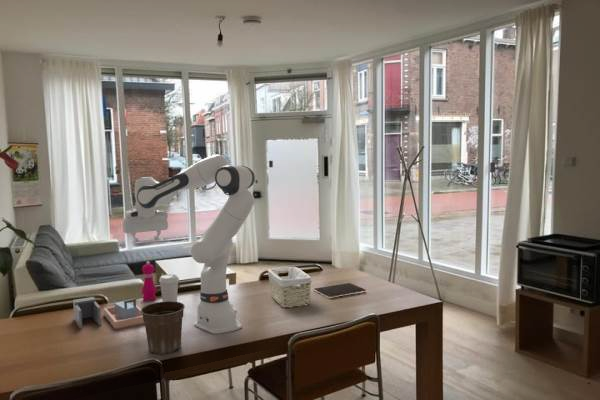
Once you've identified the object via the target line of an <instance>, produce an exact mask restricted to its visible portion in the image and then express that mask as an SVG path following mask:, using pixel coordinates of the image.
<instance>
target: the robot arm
mask: <svg viewBox="0 0 600 400" xmlns="http://www.w3.org/2000/svg"><path fill="white" fill-rule="evenodd" d="M255 180H256V177H255V173H254V171H253V170H252V169H251V168H249V167H248V166H245V165H238V164H230V163H229V161H228V160H227V158H226V157H225V156H224V155H222V154H214V155H211V156H207V157H205V158H203V159H201V160H199V161H196V162H195V163H193V164H192V165H190V166H188V167H187V168H185V169H183V170H181V171H180V172H178V173H177V174H175V175H173V176H170V177H169V178H166V179H165V180H163V181H160V182H159V181H157V180H156V179H155V178H154V177H152V176H145V177H139V178H136V180H135V183H134V199H135V204H134V207H133V208H131V209H130V210H127V211H125V212H124V216H125V217H124V219H123V222H122V231H123V232H124V233H125V234H130V235H131V236H132V238H133V241H134V242H133V243H139V237H138V238H137V237H136V234H137V233H147V232H156V235H154V238H153V239H154V241H159V239H160V235H161V233H162V231H167V230H168V229H169V223H168V222H169V221H168V214H169V213H168V212H167V211H165V210H164V209H163V210H156V207H160V206H161V207H162V206H165V205H169V204H170V203H172V201H173V200H174V193H175V192H178V191H183V190H191V189H193V190H194V189H199V188H203V187H206V186H209V185H211V184H213V183H215V184H216V185H217V187H218V188H219V189H220V190H221V191H222V192H223V194H224V195H225V196H228V199H227V200H226V202H225V204H224V205H223V206H222V208H221V210H220V212H219V213H218V214H217V216H216V218H215V219H214V221H213V222H212V223H211V224H210V225H209V226H208V227H207V229H206V230H204V232H203V233H202V235H201V236H200V237H199V239H198V240H196V241H195V242H194V243H193V244H192V247H191V249H190V254H191V258H192V259H193V260H194V261H195V262H196V263H198V264H203V267H202V269H201V272H200V291H199V299H200V302H199V304H198V305H197V308H196V309H197V311H196V312H197V313H196V321H194V324H193V326H194V327H197V328H199V329H201V330H202V331H203V330H204V331H205V332H207V333H209V334H213V335H215V334H217V335H218V334H225V333H229V332H233V331H236V330H240V329H241V328H242V327H243V326H242V323H241V322H240V321H239V320H238V319H237V318H236V317H237V314H238V310H237V309H236V308H233V304H232V303H231V302H230V300H229V292H228V289H227V270H228V269H227V268H228V262H229V258H230V253H231V250H232V248H233V244H234V243H233V238H234V237H235V236H236V235H237V234H238V232H239V230H240V229H241V227H242V226H243V225H244V223H245V221H246V220H247V219H248V217H249V215H250V213H251V211H252V209H253V206H254V203H255V197H254V195H253V194H252V192H251V191H249V189H251V187H252V186H253V185H254V182H255Z"/></svg>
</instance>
